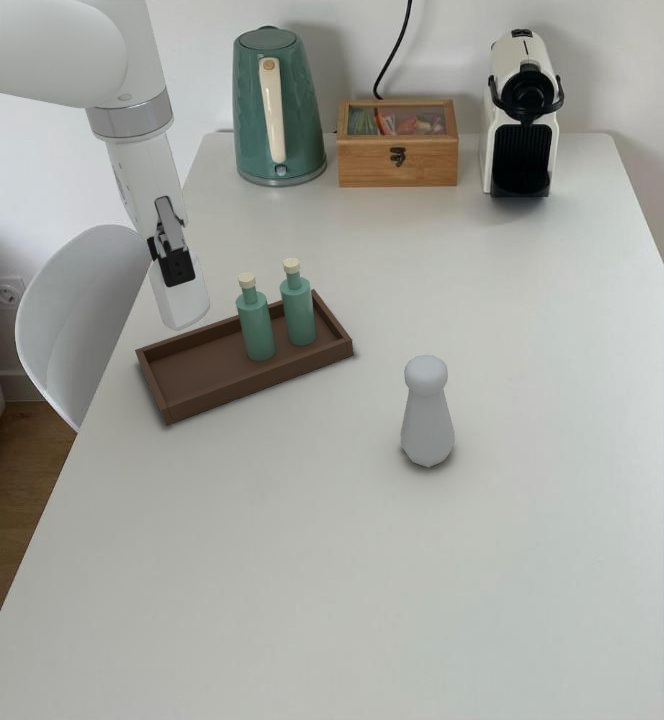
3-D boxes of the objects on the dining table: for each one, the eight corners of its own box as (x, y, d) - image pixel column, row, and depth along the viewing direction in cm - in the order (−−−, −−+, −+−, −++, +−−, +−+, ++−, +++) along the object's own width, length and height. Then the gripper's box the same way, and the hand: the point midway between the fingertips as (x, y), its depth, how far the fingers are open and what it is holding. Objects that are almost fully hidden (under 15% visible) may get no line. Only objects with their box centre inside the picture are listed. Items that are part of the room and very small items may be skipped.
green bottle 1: (252, 364, 98) (236, 290, 90) (242, 347, 100) (225, 273, 93) (280, 354, 99) (266, 280, 91) (269, 338, 102) (255, 263, 94)
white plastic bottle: (216, 320, 91) (194, 230, 83) (167, 335, 89) (139, 244, 81) (207, 299, 94) (184, 209, 86) (159, 312, 92) (131, 223, 84)
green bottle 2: (294, 349, 100) (282, 275, 92) (284, 333, 102) (270, 258, 94) (321, 339, 101) (311, 265, 93) (310, 323, 103) (299, 249, 96)
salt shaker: (430, 424, 91) (429, 337, 82) (465, 454, 87) (468, 366, 78) (390, 450, 88) (384, 363, 79) (424, 482, 85) (422, 394, 76)
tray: (166, 425, 92) (160, 409, 90) (140, 365, 100) (134, 349, 98) (353, 355, 100) (352, 339, 98) (316, 304, 107) (314, 288, 105)
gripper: (69, 86, 79) (120, 242, 91) (109, 159, 68) (161, 325, 80) (145, 68, 81) (185, 223, 94) (196, 136, 70) (233, 301, 83)
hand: (173, 268), depth 87 cm, fingers closed on white plastic bottle, 4 cm apart
